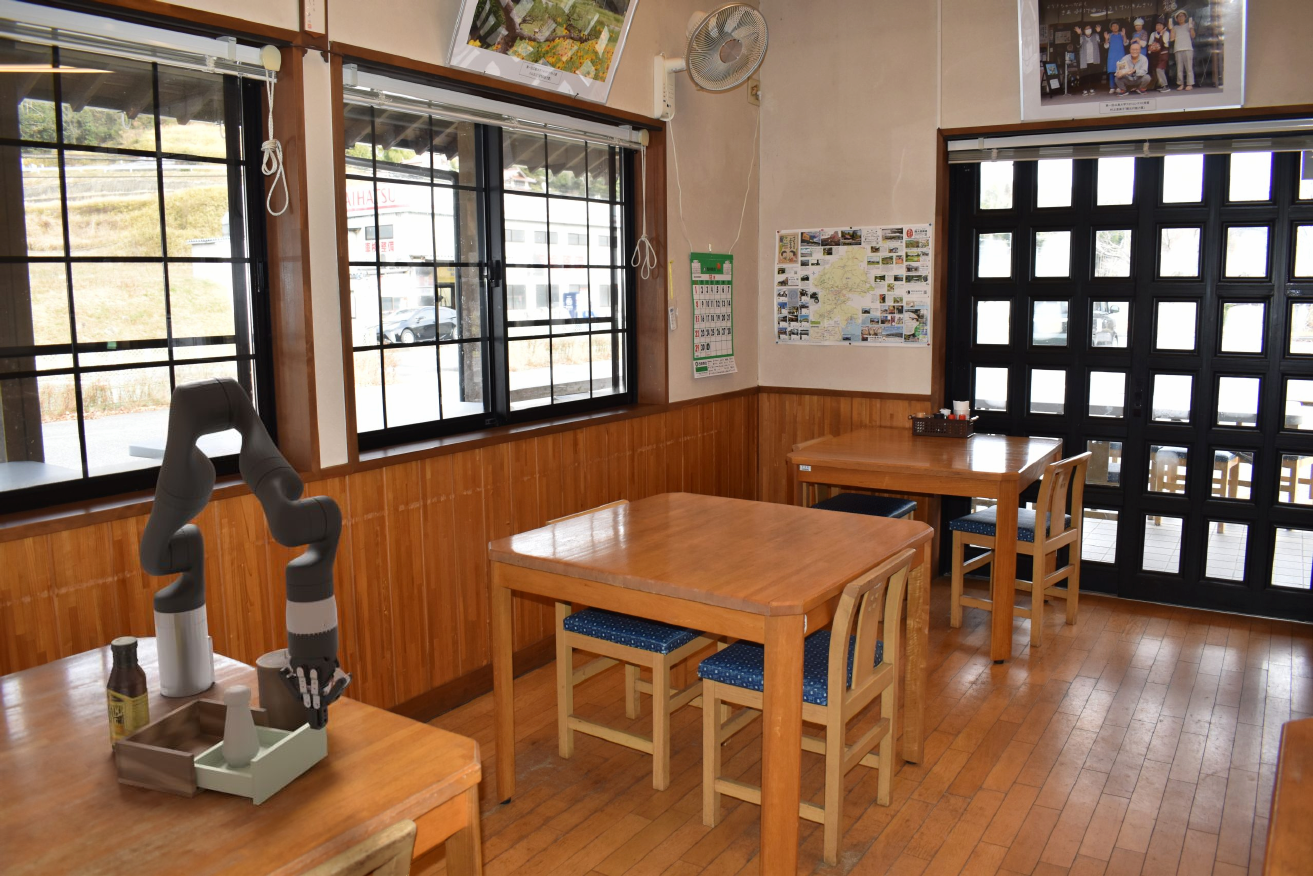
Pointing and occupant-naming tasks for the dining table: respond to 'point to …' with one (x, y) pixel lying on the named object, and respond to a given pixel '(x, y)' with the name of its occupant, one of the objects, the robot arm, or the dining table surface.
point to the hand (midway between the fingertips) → (318, 727)
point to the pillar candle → (278, 693)
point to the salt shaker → (239, 728)
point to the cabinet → (175, 746)
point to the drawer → (263, 763)
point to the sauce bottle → (126, 691)
